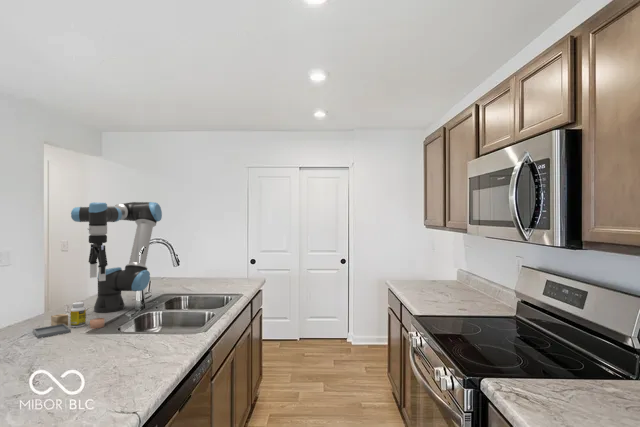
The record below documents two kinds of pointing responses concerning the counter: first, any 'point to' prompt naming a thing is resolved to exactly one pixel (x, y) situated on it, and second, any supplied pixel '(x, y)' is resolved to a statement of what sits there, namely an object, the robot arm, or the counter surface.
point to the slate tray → (51, 330)
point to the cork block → (59, 319)
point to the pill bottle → (78, 315)
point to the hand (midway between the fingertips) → (97, 279)
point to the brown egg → (97, 323)
